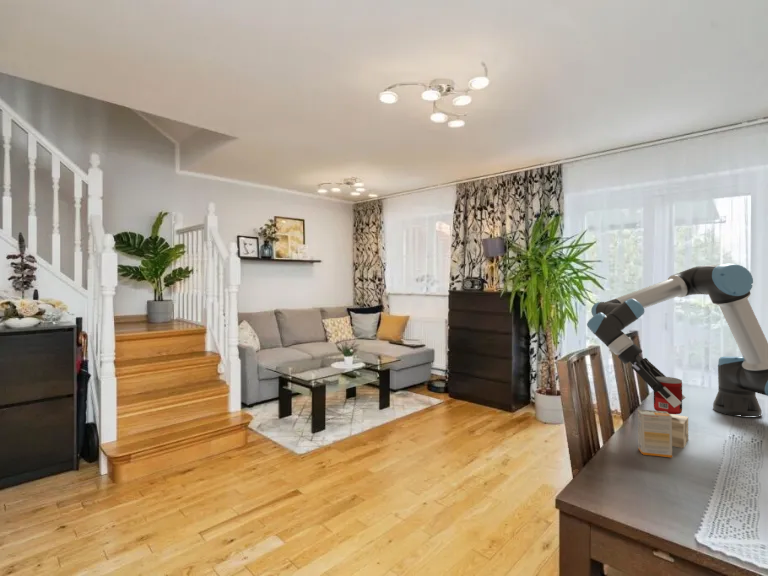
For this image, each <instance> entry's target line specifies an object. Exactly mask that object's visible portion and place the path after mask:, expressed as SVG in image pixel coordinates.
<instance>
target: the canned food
mask: <svg viewBox="0 0 768 576" xmlns="http://www.w3.org/2000/svg"><path fill="white" fill-rule="evenodd" d="M656 378H657V380H658V381H659V382H660V383H661V384H662V385H663V387H666V388H667V389H668V390H669V391H670V392H671V393H672V394H673V395H674V396H675V397H676V398H677V399H678V400H680V401H681V402H682V403H681V404H679V405H678V406H676V407H675V408H674V407H673V406H672V405H671V404H670V403H669V402H668V401H667V400H666V399H665V398H664V397H663V396H662V395H661V394H660V393H659V392H658V391H657V392H656V393H655V392H654V391H653V408H654V409H653V410H654V411H666V412H668V413H669V414H675V415H680V414H682V412H683V400H682V394H683V381H682V379H681V378H676V377H672V376H666V377H656Z"/></svg>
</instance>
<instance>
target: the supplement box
mask: <svg viewBox="0 0 768 576" xmlns="http://www.w3.org/2000/svg"><path fill="white" fill-rule="evenodd" d="M637 433H638V435H637V437H638V438H637V442H638V443H637V444H638V445H637V446H638V448H637V449H638V451H639V452H640V453H641V454H643V455H644V456H653V457H665V458H670V459H671V458H673V446H672V416H671V415H670V414H669V413H668V412H666V411H656V410H652V409H637Z"/></svg>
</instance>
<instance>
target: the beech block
mask: <svg viewBox="0 0 768 576" xmlns="http://www.w3.org/2000/svg"><path fill="white" fill-rule="evenodd" d="M670 415H671V416H672V447H676V448H680V449H685V446H686V445H687V443H688V441H689V416H685V415H680V414H670Z"/></svg>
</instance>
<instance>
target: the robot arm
mask: <svg viewBox="0 0 768 576" xmlns="http://www.w3.org/2000/svg"><path fill="white" fill-rule="evenodd" d="M753 283H754V278H753V275H752V273H751V272H750V271H749V270H748V268H746V267H745V266H743V265H740V264H737V263H720V264H718V263H717V264H708V265H705V264H704V265H702V264H701V265H697V266H694V267H691V268H687V269H685V270H682V271H680V272H678V273H675V274H672V275H670V276H669V277H668V278H667V279H666V280H663V281H660V282H658V283H654V284H652V285H649V286H646V287H644V288H641V289H638V290H636V291H633V292H630V293H627V294H624V295H621V296H619V297H616V298H612V299H610V300H608V301H600V302H596V303H594V304H593V305H592V306H591V307H592V308H591V309H590V311H591V312H590V313H591V315H592V317H591V318H590V319H589V320H588V321H587V323H586V326H587V327H588V329H589V330H590V331H591V332H592V334H593V335H595V337H597V338H598V339H599V340H600V341H601V342H602V343H603V344H604V345H605V346H606V347H607V348H608V350H609V352H611V353H614V355H618V356H617V357H618V359H619V360H620V361H621V362H622V363H623V364H624V365H627V364H628V363H630V364H632V366H631V369H632V370H633V371H634V372H635V373H637V374H638V375H639V376H640V377H641V379H642V380H643V381H644V382H645V383H646V384H647V385H648V386H649V387H650V389H652V390H653V393H654V392H655V393H656V392H657V391H658V392H659V393H660V394H661V395H662V396H663V397H664V398H665V399H666V400H667V401H668V402H669V403H670V404H671V405H672V406H673V407H674V408H675V407H676V406H678V405H679V404H681V403H682V404H683V400H685V399H687V398H686V396H685V395H684V394H683V393H682V402H681V401H680V400H678V399H677V398H676V397H675V396H674V395H673V394H672V393H671V392H670V391H669V390H668V389H667V388H666V387H663V385H662V384H661V383H660V382H659V381H658V380H657V378H656V377H667V376H666V375H665V374H664V373H663V372H661V371H660V369H658V368H657V367H656V366H655V365H653V363H651V361H650V360H649V359H648V358H647V357H645V358H643V357H642V356H641V354H642V353H643V350H642V348H640V347H639V346H638V345H637V344H636V343H634V341H633V340H632V339H631V337H629V336H628V335H626V333H624V332H623V330H624V329H625V328H627V327H628V326H629V325H632V324H633V323H634V322H636V321H638V320H639V318H640V317H642V316H643V315H644V314H645V308H648V307H651V306H654V305H657V304H659V303H663V302H666V301H668V300H671V299H674V298H684V297H687V296H692V295H708V296H709V298H710V300H711V302H712V304H714V305H716V306H718V307H719V308H720V310H721V313H722V314H723V317H724V319H725V321H726V323H727V325H728V327H729V330H730V331H731V334H732V336H733V338H734V341H735V342H736V344H737V347H738V350H739V351H740V353H741V355H742V356H739V355H738V356H736V355H735V356H721V357H719V358H718V364H717V376H718V377H717V379H718V381H717V382H718V383H717V385H718V387H717V388H718V389H717V390H718V391H717V394H716V396H715V398H714V400H713V403H712V408H713V410H714V411H716V412H718V413H721V414H724V415H729V416H733V415H741V416H759V415H761V414H762V407H761V405H760V402H759V400H758V398H757V396H756V395H757V394H760V395H763V396H766V397H768V340H767V338H766V335H765V334H764V332H763V330H762V327H761V325H760V322H759V320H758V318H757V316H756V315H755V312H754V310H753V307H752V306H751V303H750V301H749V297H750V296H751V290H752V288H753V285H752V284H753ZM756 393H757V394H756Z"/></svg>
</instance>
